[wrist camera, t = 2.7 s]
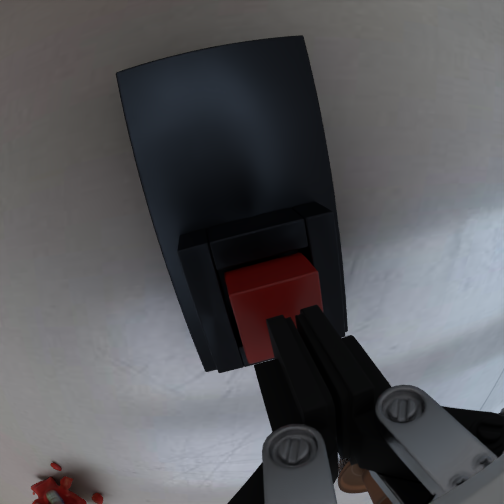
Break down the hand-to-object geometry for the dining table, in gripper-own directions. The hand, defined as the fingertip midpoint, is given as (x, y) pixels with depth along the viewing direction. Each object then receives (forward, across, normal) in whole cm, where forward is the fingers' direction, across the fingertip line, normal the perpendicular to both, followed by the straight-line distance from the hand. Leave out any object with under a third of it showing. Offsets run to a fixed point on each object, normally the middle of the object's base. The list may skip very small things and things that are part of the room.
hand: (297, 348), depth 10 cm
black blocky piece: (+7, 0, -3) cm, 8 cm away
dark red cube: (+4, 0, 0) cm, 4 cm away
